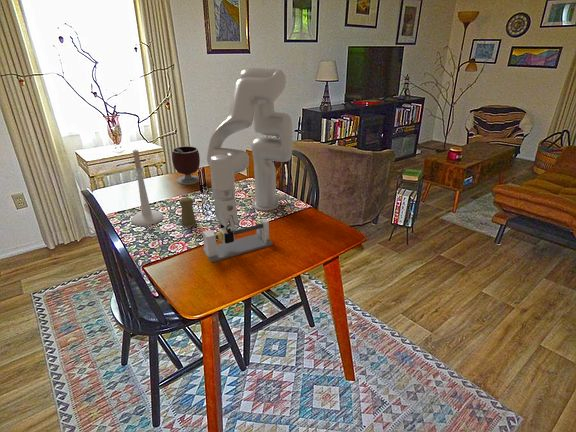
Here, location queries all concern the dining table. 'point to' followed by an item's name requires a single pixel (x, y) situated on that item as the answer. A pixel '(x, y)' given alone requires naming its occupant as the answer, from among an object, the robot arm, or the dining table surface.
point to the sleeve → (223, 233)
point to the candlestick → (144, 200)
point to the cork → (187, 212)
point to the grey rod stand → (236, 242)
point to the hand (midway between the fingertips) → (226, 238)
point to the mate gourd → (186, 163)
